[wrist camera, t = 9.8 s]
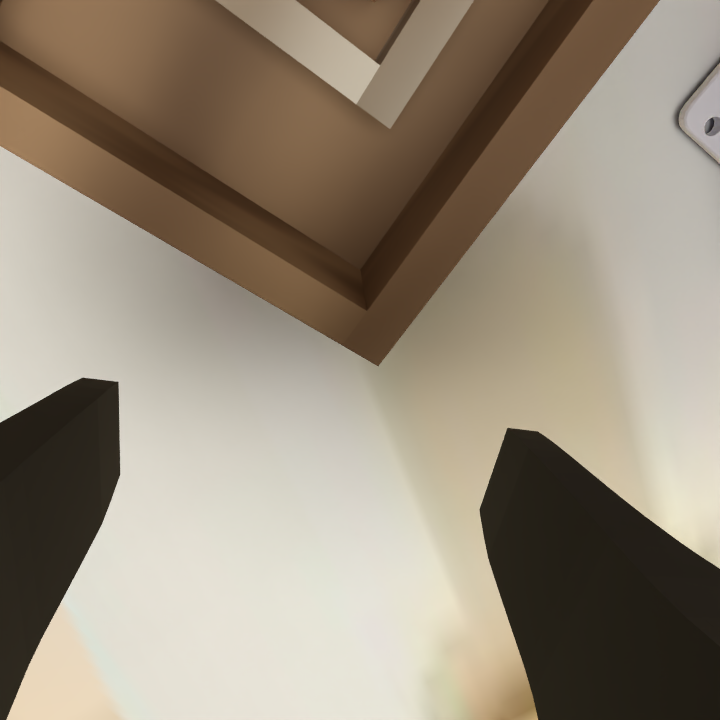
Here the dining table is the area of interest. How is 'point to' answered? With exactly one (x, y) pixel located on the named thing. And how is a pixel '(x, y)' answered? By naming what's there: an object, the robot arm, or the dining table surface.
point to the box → (305, 131)
